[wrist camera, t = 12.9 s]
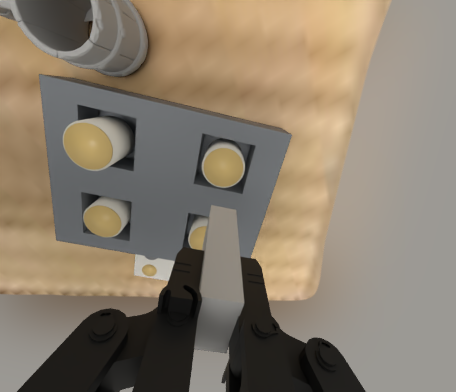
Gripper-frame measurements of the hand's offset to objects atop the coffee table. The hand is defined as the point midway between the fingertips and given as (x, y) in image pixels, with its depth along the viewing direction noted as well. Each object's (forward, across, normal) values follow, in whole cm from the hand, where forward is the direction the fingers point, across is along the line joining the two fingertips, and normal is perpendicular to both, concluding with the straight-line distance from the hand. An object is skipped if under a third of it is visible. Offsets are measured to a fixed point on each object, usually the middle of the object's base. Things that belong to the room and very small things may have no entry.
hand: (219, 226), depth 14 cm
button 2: (+15, -13, 0) cm, 20 cm away
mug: (+18, -16, +10) cm, 27 cm away
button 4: (+17, 0, 0) cm, 17 cm away
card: (+18, -5, -20) cm, 27 cm away
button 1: (+17, -13, -10) cm, 24 cm away
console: (+18, -6, -5) cm, 20 cm away
